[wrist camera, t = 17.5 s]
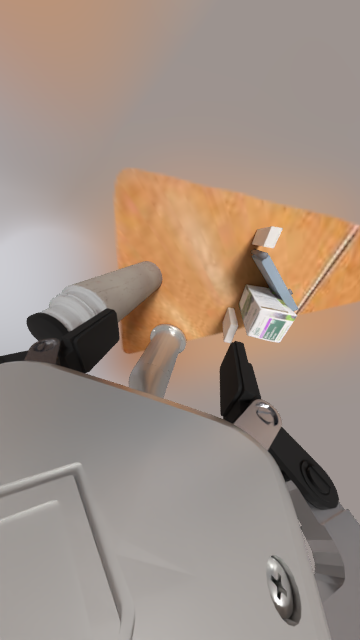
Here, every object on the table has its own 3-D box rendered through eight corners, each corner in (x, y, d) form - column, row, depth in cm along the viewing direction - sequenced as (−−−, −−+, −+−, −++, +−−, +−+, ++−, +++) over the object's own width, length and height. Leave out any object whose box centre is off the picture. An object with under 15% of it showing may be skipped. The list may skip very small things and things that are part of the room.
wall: (228, 323, 41) (230, 343, 33) (222, 322, 41) (223, 341, 33) (265, 230, 29) (282, 228, 21) (257, 229, 29) (271, 226, 21)
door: (286, 292, 33) (306, 308, 26) (275, 298, 34) (292, 314, 27) (260, 243, 30) (274, 245, 22) (248, 251, 31) (259, 256, 23)
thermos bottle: (136, 288, 42) (31, 353, 18) (134, 259, 37) (-6, 295, 14) (162, 292, 40) (85, 368, 17) (162, 263, 36) (62, 310, 13)
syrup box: (260, 309, 37) (282, 344, 24) (237, 304, 37) (247, 337, 25) (270, 287, 34) (300, 316, 21) (244, 283, 34) (260, 308, 22)
